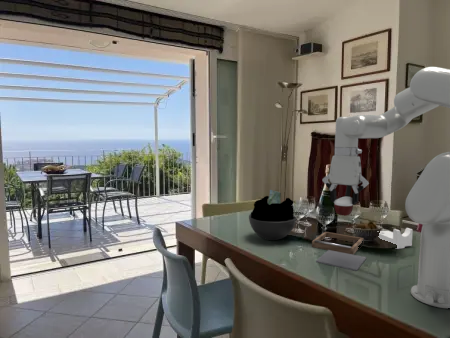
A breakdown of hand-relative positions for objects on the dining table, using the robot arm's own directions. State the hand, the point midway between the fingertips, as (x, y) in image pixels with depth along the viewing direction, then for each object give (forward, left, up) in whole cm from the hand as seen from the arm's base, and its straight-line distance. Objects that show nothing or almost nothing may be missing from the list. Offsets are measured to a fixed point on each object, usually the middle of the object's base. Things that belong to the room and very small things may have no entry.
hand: (343, 202), depth 122 cm
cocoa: (0, 0, -4) cm, 4 cm away
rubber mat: (0, 0, -21) cm, 21 cm away
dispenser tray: (+16, +6, -21) cm, 27 cm away
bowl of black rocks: (+8, +32, -21) cm, 39 cm away
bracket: (+32, -12, -22) cm, 41 cm away
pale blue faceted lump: (+40, +50, -22) cm, 68 cm away
